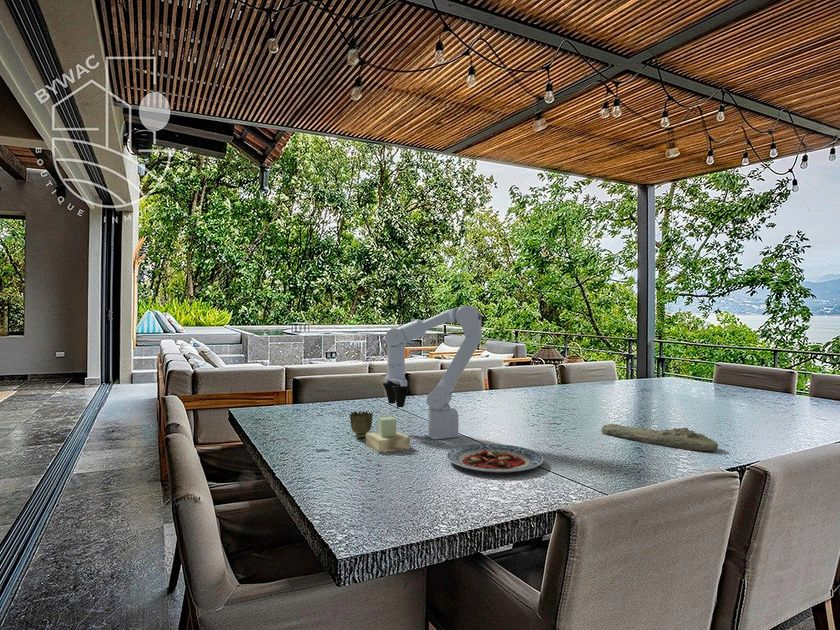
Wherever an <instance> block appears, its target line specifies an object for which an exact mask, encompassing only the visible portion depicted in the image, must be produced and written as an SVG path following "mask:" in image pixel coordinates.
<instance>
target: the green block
mask: <svg viewBox="0 0 840 630" xmlns="http://www.w3.org/2000/svg"><path fill="white" fill-rule="evenodd" d="M396 431H397V419H396V418H395V417H393V416H378V417H377V432H378V435H380V436H381V437H390V436H396Z"/></svg>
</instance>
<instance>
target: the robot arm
mask: <svg viewBox="0 0 840 630" xmlns="http://www.w3.org/2000/svg"><path fill="white" fill-rule="evenodd" d="M446 323H458V324H459V326H460V327H461V328H462V331H463V334H464V336H465V337H464V339H463V341H462V342H461V345H459V348H458V350H457V352H456V353H455V354H454V356H453V358H452V360H451V363H450V364H449V366H448V368H447V369H446V371H445V373H444V374H443V376H442V377H441V380H440V381H439V382H438V384H437V385H436V386H435V388H434V389H433V390H431V391H430V392H429V393H428V395H427V396H426V403H427V405H428V406H427V407H428V408H427V409H428V410H427V413H428V416H427V421H428V423H427V425H428V427H427V429H428V431H427V432H423V435H424V436H427V437H428V438H429V439H432V440H441V439H443V440H444V439H451V438H452V439H454V438H459V437H461V436H460V435H459V413H458V410H457V409H456V408H454V407H453V408H452V407H451V406H450V404H449V403H450V401H451V400H452V397H453V396H452V394H453V391H454V390H455V386H456V384H457V383H458V381H459V379H460V377H461V376H462V374H463V373H464V371H465V369H466V367H467V365H468V364H469V361H470V360H471V359H472V358H473V357H472V356H473V355H474V354H475V351H476V350H477V348H478V346H479V345H480V343H481V341H482V339H483V333H482V332H483V331H482V330H483V328H482V327H483V326H482V315H481V314H480V311H479V309H478V308H477V307H476V306H474V305H465V304H464V305H461V306H459V307H454V308H449V309H447V310H445V311H442V312H441V313H438V314H436V315H433V316H432V317H429V318H426V319H424V320H421V319H420V318H417V319H416V318H412V319H410V322H407V323H405V324H399V325H397V328H395V327H393V328H390V329H389V330H388V331H387V332H386V333H385V335H384V336H385V337H384V338H385V342H386V343H387V374H386V375H385V377H384V379H383V380H384V381H385V382H382V386H383V388H384V390H385V393H386V398H387V402H388V404H389V405H390V404H392V405H393V404H396V408H400V409H401V408H405V403H406V400H407V396H408V392H410V389H411V386H410V385H408V380H407V379H406V376H405V375H406V373H405V372H406V371H405V370H406V367H405V366H406V365H405V363H406V362H405V361H406V360H405V359H406V358H405V357H406V355H405V353H406V352H405V343H407V342H410V341H412V340H416V339H418V338H421V337H423V336H425V335H426V333H427V331H428V330H429V329H432V328H435V327H438V326H441V325H444V324H446Z"/></svg>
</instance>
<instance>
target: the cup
mask: <svg viewBox="0 0 840 630" xmlns="http://www.w3.org/2000/svg"><path fill="white" fill-rule="evenodd" d="M373 416H374V412H371V411H369V412H368V411H365V410H363V411H360V410H359V412H358V411H356V410H355V411H354V412H353V411H351V412H350V413H349V419H350V420H349V421H350V426H351V430H352V432H354V433H355V438H357V439H361V440H362V439H366V434H367V433H370V431H371V429H372V426H373V425H372V424H373Z"/></svg>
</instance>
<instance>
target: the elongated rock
mask: <svg viewBox="0 0 840 630" xmlns="http://www.w3.org/2000/svg"><path fill="white" fill-rule="evenodd" d="M601 433H602V434H603V435H606V436H607V435H608V436H613V437H617V438H621V439H624V440H625V439H626V440H627V441H628V440H629V441H630V440H631V441H636V442H640V443H646V444H651V445H652V444H653V445H661V446H665V447H670V448H673V449H675V448H677V449H682V450H687V451H691V452H692V451H693V450H694V451H701V452H702V451H706V452H715V451H716V450H717V449H718V448H719V444H718V443H717V441H715V440H713V439H712V438H709V437H707V436H706V435H704V434H701V433H697V432H695V431H694V430H690V429H689V428H688V427H679V428H676V427H673V429H661V430H657V429H655V430H654V429H648V428H641V427H639V428H638V427H633V426H628V425H620V424H615V423H609V424H604V425H603V426H602V427H601Z"/></svg>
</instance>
